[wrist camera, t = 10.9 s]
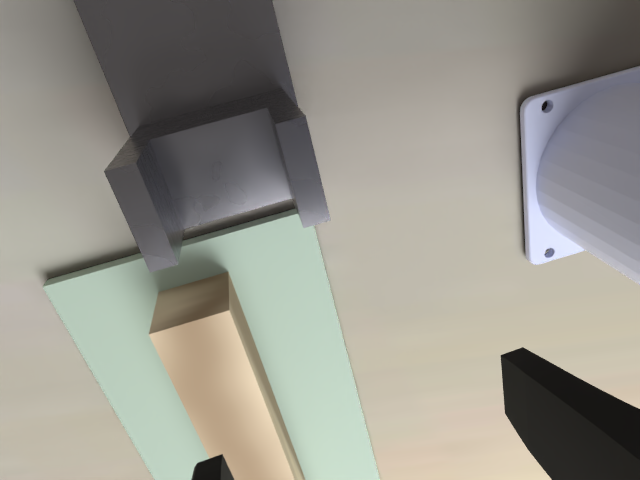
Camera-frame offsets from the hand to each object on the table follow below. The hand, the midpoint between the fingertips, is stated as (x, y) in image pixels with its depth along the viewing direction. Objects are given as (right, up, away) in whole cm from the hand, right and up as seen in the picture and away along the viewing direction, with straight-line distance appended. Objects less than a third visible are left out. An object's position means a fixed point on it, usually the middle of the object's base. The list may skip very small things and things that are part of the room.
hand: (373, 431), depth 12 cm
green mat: (-5, -4, +13) cm, 14 cm away
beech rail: (-5, -4, +12) cm, 13 cm away
